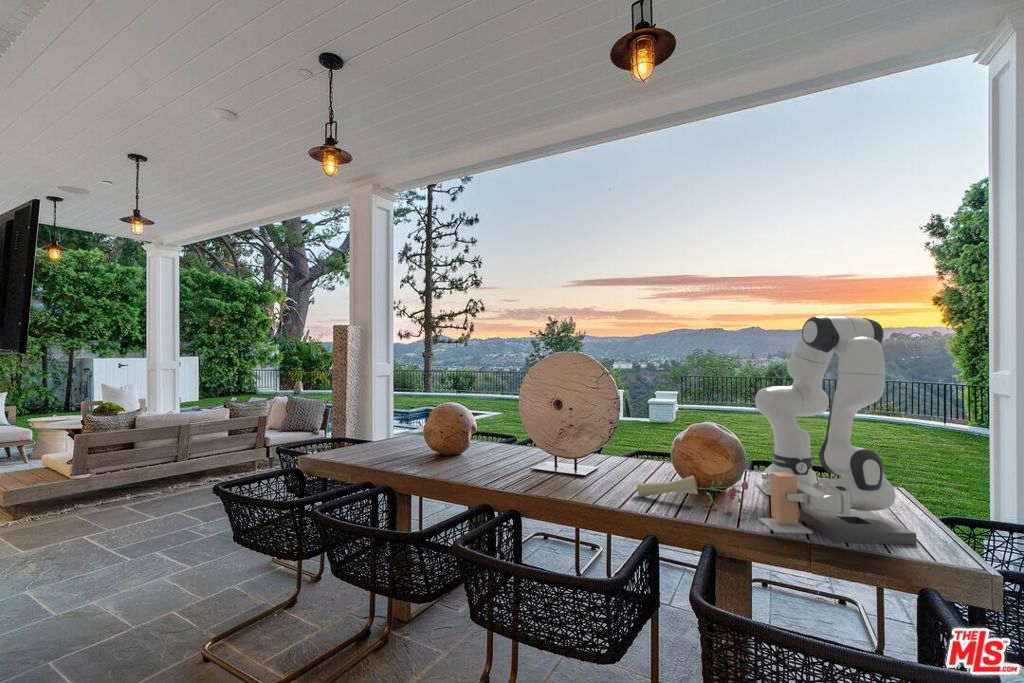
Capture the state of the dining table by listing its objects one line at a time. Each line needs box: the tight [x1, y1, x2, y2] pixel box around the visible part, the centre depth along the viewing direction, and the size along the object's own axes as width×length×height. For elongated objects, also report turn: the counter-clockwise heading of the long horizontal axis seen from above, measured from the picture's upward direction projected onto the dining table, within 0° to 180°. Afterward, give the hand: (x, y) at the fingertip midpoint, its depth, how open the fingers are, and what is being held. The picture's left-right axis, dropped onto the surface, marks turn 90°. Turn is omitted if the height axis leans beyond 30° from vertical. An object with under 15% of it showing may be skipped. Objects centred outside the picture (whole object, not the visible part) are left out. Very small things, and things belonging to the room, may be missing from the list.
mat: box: [758, 517, 813, 534], centre depth 135 cm, size 10×10×1 cm
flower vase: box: [636, 472, 749, 511], centre depth 155 cm, size 12×12×35 cm
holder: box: [799, 508, 917, 545], centre depth 131 cm, size 18×20×3 cm
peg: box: [770, 472, 799, 523], centre depth 135 cm, size 5×5×13 cm
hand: (780, 493), depth 135 cm, fingers closed on peg, 5 cm apart
